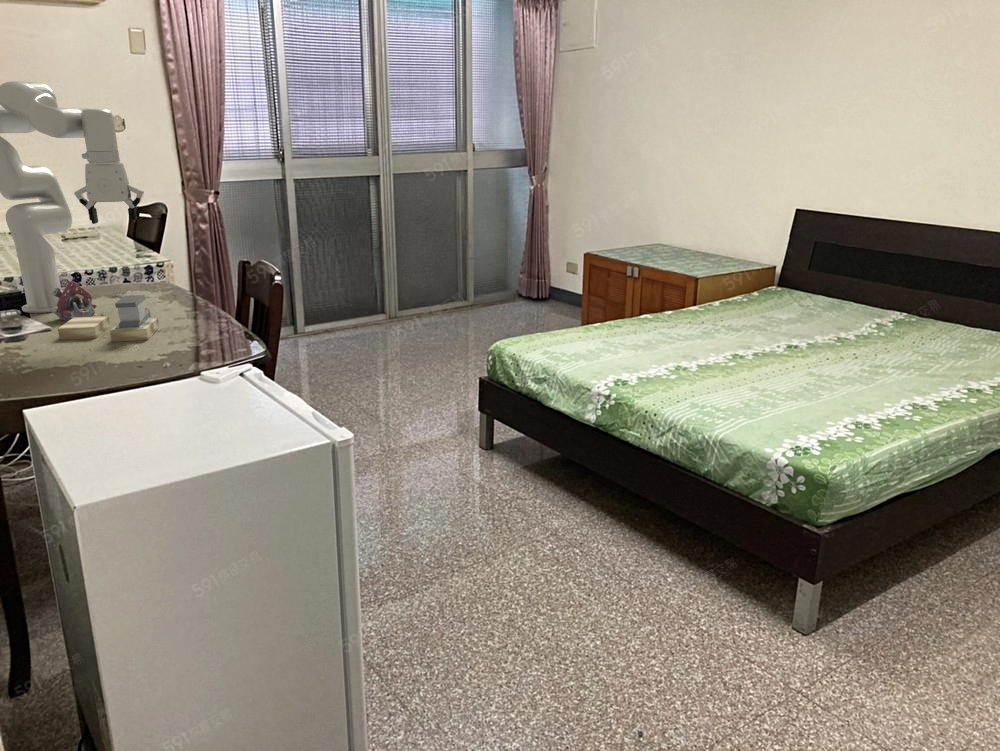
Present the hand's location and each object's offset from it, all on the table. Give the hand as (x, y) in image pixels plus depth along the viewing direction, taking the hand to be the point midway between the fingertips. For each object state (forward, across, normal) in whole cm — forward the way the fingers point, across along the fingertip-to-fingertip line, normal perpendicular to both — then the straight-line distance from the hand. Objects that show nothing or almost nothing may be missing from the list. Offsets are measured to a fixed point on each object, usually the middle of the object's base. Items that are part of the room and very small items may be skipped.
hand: (114, 222), depth 208 cm
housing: (+25, +5, -13) cm, 29 cm away
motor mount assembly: (+29, -17, +9) cm, 35 cm away
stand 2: (+28, +5, -13) cm, 32 cm away
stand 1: (+28, -9, -9) cm, 31 cm away
